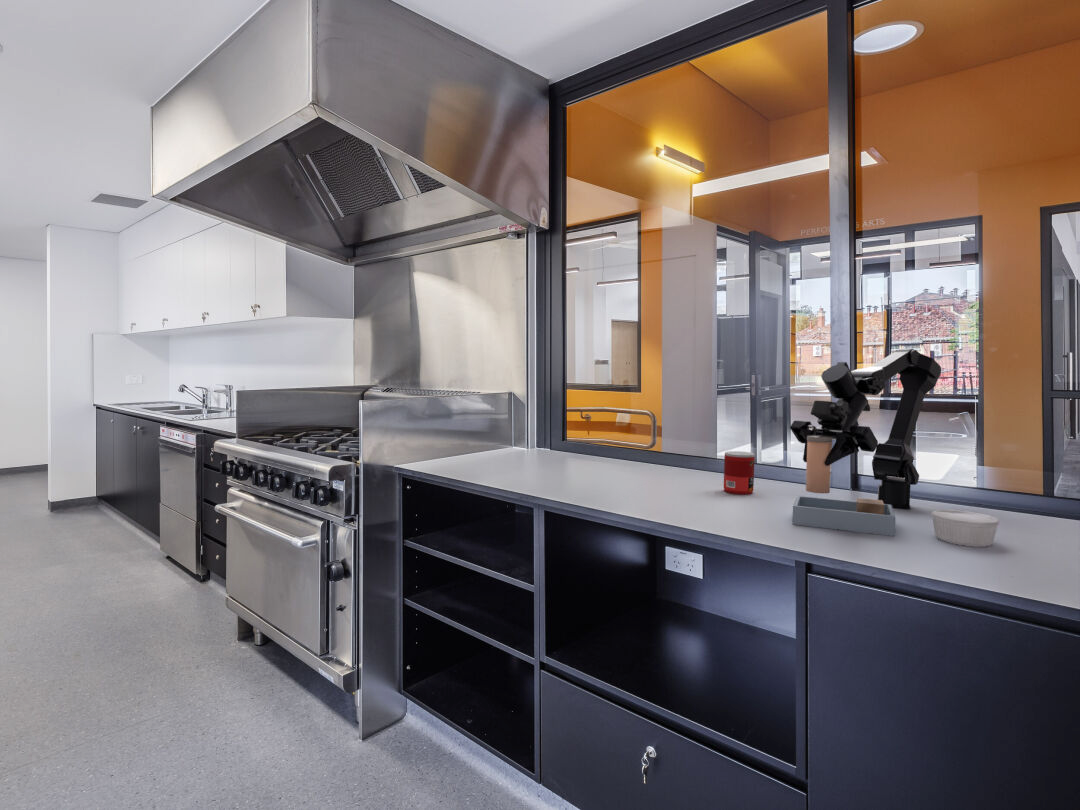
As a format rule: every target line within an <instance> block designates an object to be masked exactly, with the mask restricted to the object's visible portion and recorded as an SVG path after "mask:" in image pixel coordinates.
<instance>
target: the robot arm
mask: <svg viewBox="0 0 1080 810" xmlns="http://www.w3.org/2000/svg"><path fill="white" fill-rule="evenodd" d="M898 374H899V381H900V384H901V385H902V393H901V396H900V399H899V403H898V406H897V409H896V413H895V415H894V420H893V423H892V426H891V429H890V432H889V436H888V439H887V440H886V441H885V442H884V443H880V442H878V439H877V437H876V436H875V434H874V432H873V430H872V428H871V427H870V426H863V425H859V422H858V419H859V417H860V416H861V415H862V412H870V411H871V406H870V404H869V400H868V399H867V397H866V396H878V395H880V393H881V392H882V391H883V390H884V389H885V388H886V387H887V385H886V383H887V382H888V380H890V379H892V378H893V377H894V376H896V375H898ZM941 374H942V367H941V365H940V364H939V363H938V362H937V361H936V360H935V359H934V358H932V357H930V356H928V355H926V354H922V353H921V352H919V351H918V350H917V349H915V348H897V349H896V350H893V351H892V353H890V354H889V355H888V356H886V357H884V358H883V359H880V360H879V361H877V362H876V363H874V364H872V365H871V366H868V367H862V368H856V369H854V370H851V369H850V367H849V364H848V363H847V361H837V363H836V364H835V365H831V366H830V367H828V368H827V369H825V370H823V372H822V373H821V375H820V376H821V380H822V382H823V383H824V385H825V387H826V388H827V390H828V392H829V393H830V395H831V397H833V398H835V399H838V400H837V401H834V402H833V401H828V400H814V401H813V404H812V407H811V411H810V415H811V416H813V417H816V418H817V423H818V425H820V426H821V427H816V426H815V425H813V423H812V422H811V421H808V420H800V419H799V420H798V419H797V420H793V422H792V423H791V424H790V426H789V429H790V430H791V432H792V434H793V435H794V436H795V438H796V440H797V441H798V442H799V443H801V444H804V448H803V450H804V451H803V455H802V460H803V462H804V463H807V436H808V435H823V436H831V437H832V441H833V440H834V441H835V443H834V444H833V446H832V449H831V451H830V453H829V454H828V456H827V458H826V460H825V465H826V466H829V465H830V464H831V465H832V464H834V463H836V462H837V461H840V460H841V459H843V458H845V457H848V456H850V455H852V454H854V453H855V454H856V453H859V452H860V450H861V451H862V452H868V453H869V452H870V453H874V455H873V456H872V458H873V459H872V461H871V467H872V472H873V473H872V474H873V479H874V480H876V481H880V484H879V485H878V486H877V487H878V489H877V500H883V503H884V504H889V505H892V508H898V509H900V508H901V509H908V510H910V509H911V508H912V507H911V503H910V502H911V487H912V485H913V486H914V485H917V484H918V483H919V479H920V474H919V473H918V470H917V468H916V467H915V465H914V459H915V458H914V457H915V456H914V455H913V452H912V449H911V447H910V445H911V442H912V439H913V435H914V432H915V428H916V425H917V423H918V418H919V415H920V412H921V410H922V405H923V402H924V399H925V396H926V395H927V393H929V392H930V391H931V390H932V389H934V388H935V387H936V384H937V382H938V380H939V378H940V377H941ZM859 448H860V449H859Z"/></svg>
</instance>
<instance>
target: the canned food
mask: <svg viewBox="0 0 1080 810" xmlns="http://www.w3.org/2000/svg"><path fill="white" fill-rule="evenodd" d="M723 460H724V462H723V464H724V465H723V490H724V492H726V493H727V492H728V494H732V493H733V494H735V495H751V494H753V492H754V484H755V483H754V482H755V480H754V479H755V453H754V452H750V451H741V450H740V451H739V450H738V451H737V450H735V451H734V450H732V451H725V452H724V459H723Z"/></svg>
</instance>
